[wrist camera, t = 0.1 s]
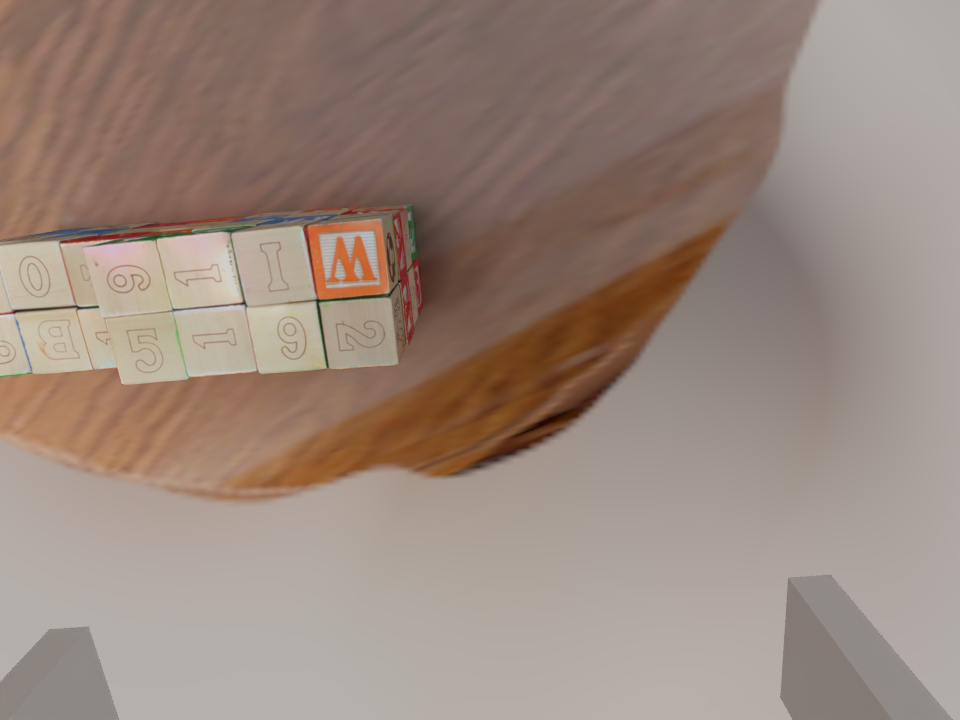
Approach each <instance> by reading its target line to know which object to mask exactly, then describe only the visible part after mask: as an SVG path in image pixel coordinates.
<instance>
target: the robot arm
mask: <svg viewBox="0 0 960 720" xmlns="http://www.w3.org/2000/svg"><path fill="white" fill-rule="evenodd" d="M781 699H782V701H783V703H784V705H785V707H786V708H787V710H788V712H789V714H790V716H791V717H792V719H793V720H952V719H951V717H950V716H949V715H948V714H947V713H946V711H945V710H944V709H943V708H942V707H941V705H940V704H939V703H938V702H937V701H936V699H935V698H934V697H933V696H932V695H931V693H929V691H928V690H927V689H926V688H925V686H924V685H923V684H922V683H921V682H920V680H919V679H918V678H917V677H916V676H915V675H914V673H913V672H912V671H911V670H910V669H909V668H908V666H907V665H906V664H905V663H904V661H903V660H902V659H901V658H900V657H899V655H898V654H897V653H896V652H895V651H894V650H893V648H892V647H891V646H890V645H889V644H888V642H887V641H886V640H885V639H884V638H883V636H882V635H881V634H880V633H879V632H878V630H877V629H876V628H875V627H874V626H873V625H872V623H871V622H870V621H869V620H868V619H867V617H866V616H865V615H864V614H863V613H862V612H861V610H860V609H859V608H858V607H857V606H856V604H855V603H854V602H853V601H852V600H851V598H850V597H849V596H848V595H847V594H846V592H845V591H844V590H843V589H842V588H841V587H840V585H839V584H838V583H837V582H836V581H835V579H834V578H833V577H832V576H831V575H822V576H807V577H793V578H788V589H787V605H786V620H785V635H784V651H783V666H782V681H781ZM0 720H119V718H118V715H117V712H116V709H115V706H114V703H113V700H112V697H111V694H110V690H109V687H108V685H107V681H106V678H105V675H104V672H103V669H102V666H101V663H100V660H99V657H98V654H97V651H96V648H95V645H94V642H93V639H92V636H91V633H90V630H89V627H77V628H64V629H49V630H48V632H46V634H45V635H44V636H43V637H42V638H41V639H40V640H39V641H38V642H37V643H36V645H34V647H32V649H31V650H30V651H29V652H28V653H27V654H26V655H25V656H24V657H23V658H22V659H21V660H20V661H19V662H18V663H17V665H16V666H15V667H14V668H13V669H12V670H11V671H10V672H9V673H8V674H7V675H6V676H5V677H4V679H3V680H2V681H1V682H0Z"/></svg>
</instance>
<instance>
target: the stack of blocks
mask: <svg viewBox="0 0 960 720" xmlns="http://www.w3.org/2000/svg"><path fill="white" fill-rule="evenodd" d="M422 307H423V301H422V291H421V281H420V272H419V262H418V257H417V251H416V240H415V230H414V220H413V208H412V205H410V204H408V205H394V206H379V207H364V208H361V207H344V208H331V209H317V210H301V211H286V212H272V213H260V214H256V215H252V216H246V217H235V218H222V219H209V220H203V221H195V222H182V223H170V224H159V225H157V224H156V223H154V222H151V223H137V224H124V225H111V226H102V227H96V228H83V229H71V230H59V231H53V232H47V233H42V234H35V235H29V236H22V237H14V238H8V239H2V240H0V377H2V376H15V375H23V374H29V373H34V374H48V373H61V372H72V371H84V370H92V369H100V370H102V369H113V368H117V370H118V374H119V378H120V381H121V384H122V385H130V384H141V383H152V382H163V381H175V380H186V379H188V378H190V377H205V376H217V375H226V374H241V373H251V372H259V373H260V374H269V373H282V372H295V371H308V370H322V369H326V368H330V369H334V370H336V369H350V368H366V367H381V366H393V365H397V364H398V363H399V362H400V359H401V357H402V354H403V351H404V349H405V345H409V344H410V341H411V338H412V335H413V333H414V327H415V324H416V321H417V318H418V317H419V315H420V312H421V309H422Z"/></svg>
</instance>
